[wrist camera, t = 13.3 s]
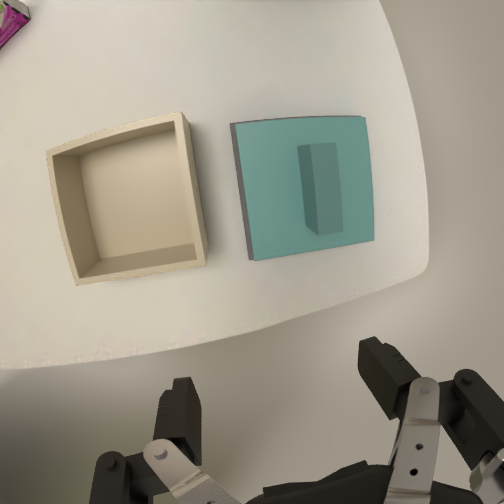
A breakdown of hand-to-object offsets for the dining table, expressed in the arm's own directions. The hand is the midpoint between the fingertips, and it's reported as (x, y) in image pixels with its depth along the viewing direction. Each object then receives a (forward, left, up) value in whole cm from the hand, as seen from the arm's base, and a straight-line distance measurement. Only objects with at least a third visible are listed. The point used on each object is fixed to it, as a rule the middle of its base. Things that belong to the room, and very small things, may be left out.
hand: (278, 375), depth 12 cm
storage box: (+12, -7, -27) cm, 30 cm away
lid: (-10, -5, -25) cm, 28 cm away
